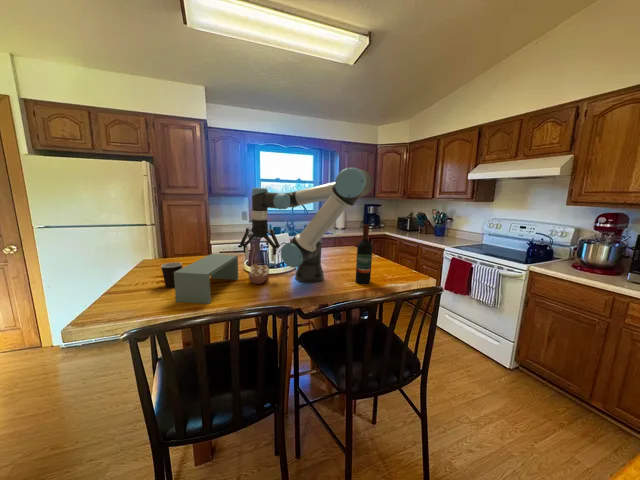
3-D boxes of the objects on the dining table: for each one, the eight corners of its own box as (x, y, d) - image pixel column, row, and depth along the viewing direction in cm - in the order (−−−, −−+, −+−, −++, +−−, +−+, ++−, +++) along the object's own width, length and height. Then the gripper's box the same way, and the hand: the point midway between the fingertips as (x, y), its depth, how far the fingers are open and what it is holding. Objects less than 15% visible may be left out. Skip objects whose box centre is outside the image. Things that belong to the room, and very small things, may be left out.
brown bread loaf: (250, 272, 151) (250, 263, 150) (269, 271, 153) (269, 263, 152) (248, 287, 129) (248, 277, 128) (269, 286, 131) (269, 276, 130)
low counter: (238, 278, 139) (237, 255, 137) (209, 303, 109) (207, 274, 107) (212, 277, 140) (211, 253, 138) (175, 301, 110) (173, 272, 108)
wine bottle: (371, 281, 141) (375, 224, 136) (368, 285, 135) (371, 226, 129) (357, 279, 144) (361, 223, 139) (353, 283, 138) (356, 224, 132)
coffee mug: (174, 289, 123) (173, 268, 121) (158, 287, 124) (156, 266, 123) (191, 281, 134) (190, 261, 132) (176, 279, 136) (174, 260, 134)
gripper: (286, 219, 138) (285, 259, 142) (238, 216, 140) (239, 256, 144) (282, 221, 130) (282, 263, 135) (232, 218, 132) (233, 260, 136)
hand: (259, 260), depth 139 cm, fingers open, 13 cm apart
